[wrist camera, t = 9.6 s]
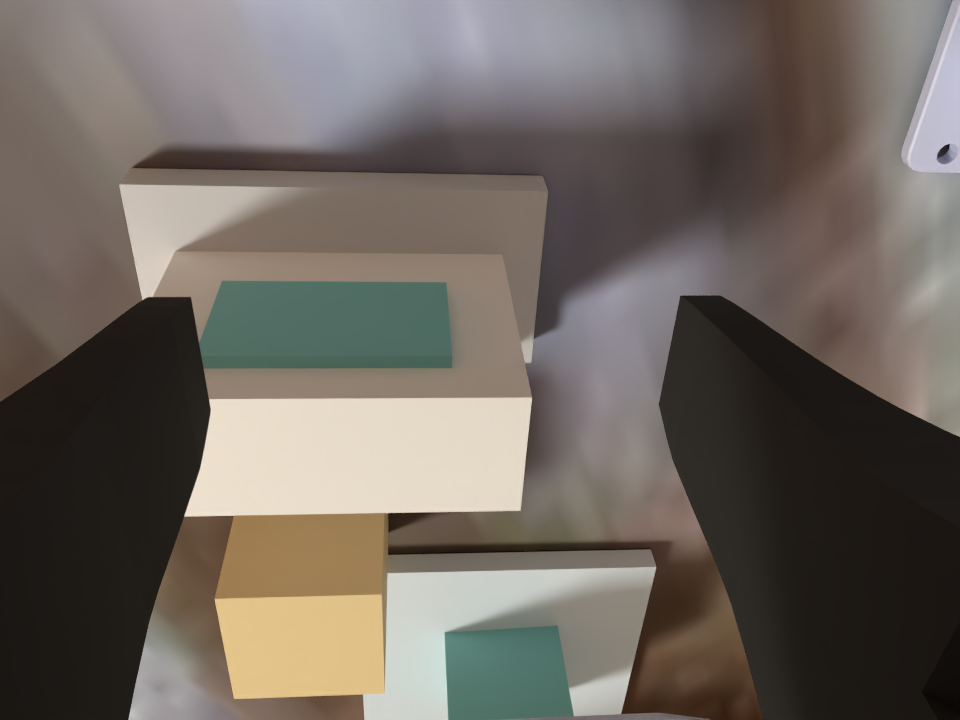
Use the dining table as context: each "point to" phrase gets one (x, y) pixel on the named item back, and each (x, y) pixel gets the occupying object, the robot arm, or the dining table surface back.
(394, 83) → the dining table surface
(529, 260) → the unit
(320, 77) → the dining table surface
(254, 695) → the ochre block
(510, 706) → the teal block
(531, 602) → the mat
